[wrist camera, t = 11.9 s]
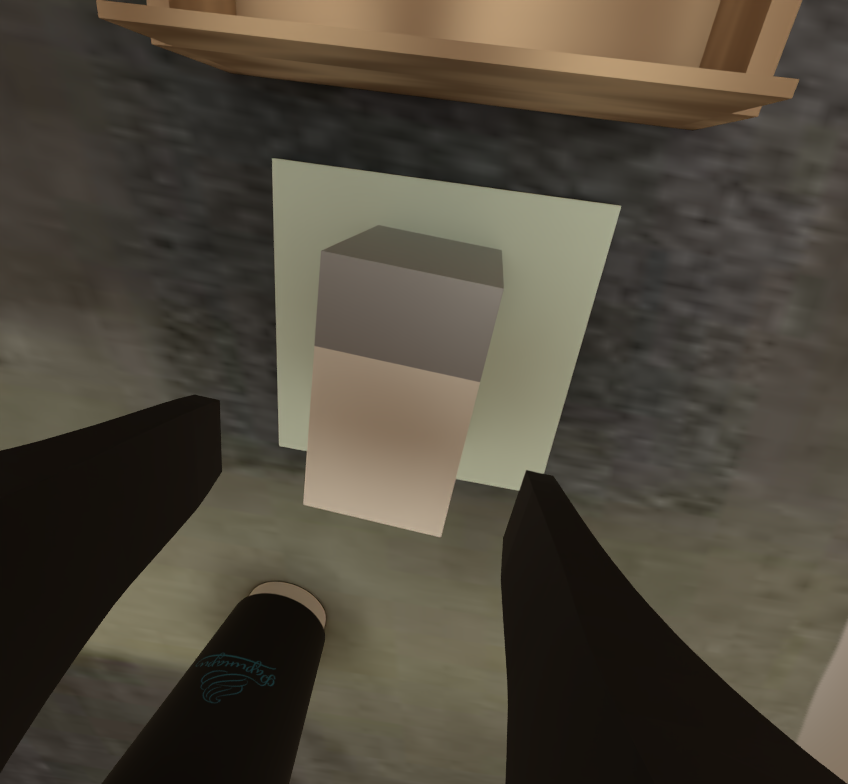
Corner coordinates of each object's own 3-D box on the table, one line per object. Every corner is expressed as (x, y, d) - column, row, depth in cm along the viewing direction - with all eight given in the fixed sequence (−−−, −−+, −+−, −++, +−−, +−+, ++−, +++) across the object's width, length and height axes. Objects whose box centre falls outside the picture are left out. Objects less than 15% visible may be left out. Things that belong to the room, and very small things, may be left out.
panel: (283, 440, 22) (279, 446, 21) (278, 158, 16) (271, 158, 16) (536, 487, 21) (537, 494, 20) (617, 205, 16) (621, 205, 15)
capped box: (355, 415, 20) (303, 504, 15) (378, 225, 16) (320, 250, 11) (456, 438, 20) (440, 537, 14) (501, 249, 16) (503, 288, 11)
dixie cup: (297, 543, 25) (165, 789, 15) (378, 638, 27) (310, 904, 17) (196, 584, 27) (27, 815, 17) (278, 667, 30) (169, 912, 20)
